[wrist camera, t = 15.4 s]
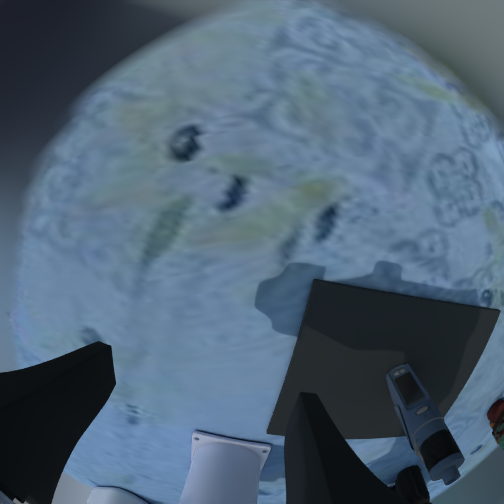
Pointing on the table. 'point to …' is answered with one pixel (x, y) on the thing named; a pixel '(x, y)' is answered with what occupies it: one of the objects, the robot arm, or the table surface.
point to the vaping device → (424, 425)
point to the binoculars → (497, 421)
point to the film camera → (412, 486)
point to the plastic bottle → (113, 496)
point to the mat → (379, 355)
